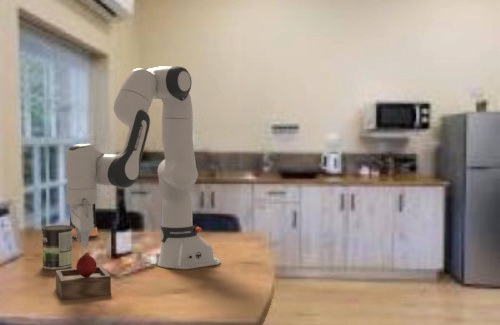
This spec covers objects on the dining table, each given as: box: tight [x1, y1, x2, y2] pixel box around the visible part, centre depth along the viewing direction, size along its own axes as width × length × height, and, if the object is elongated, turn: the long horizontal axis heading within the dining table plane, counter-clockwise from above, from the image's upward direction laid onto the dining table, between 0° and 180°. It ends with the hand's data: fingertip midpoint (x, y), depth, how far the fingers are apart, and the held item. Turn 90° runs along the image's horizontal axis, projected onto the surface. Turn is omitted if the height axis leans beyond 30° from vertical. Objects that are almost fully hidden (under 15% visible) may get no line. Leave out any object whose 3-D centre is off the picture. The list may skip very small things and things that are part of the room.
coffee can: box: [41, 224, 73, 270], centre depth 210 cm, size 10×10×14 cm
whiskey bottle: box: [69, 203, 98, 239], centre depth 272 cm, size 10×10×32 cm
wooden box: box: [55, 265, 112, 301], centre depth 177 cm, size 14×14×6 cm
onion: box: [75, 251, 98, 278], centre depth 176 cm, size 6×6×8 cm
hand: (82, 243), depth 176 cm, fingers open, 8 cm apart
